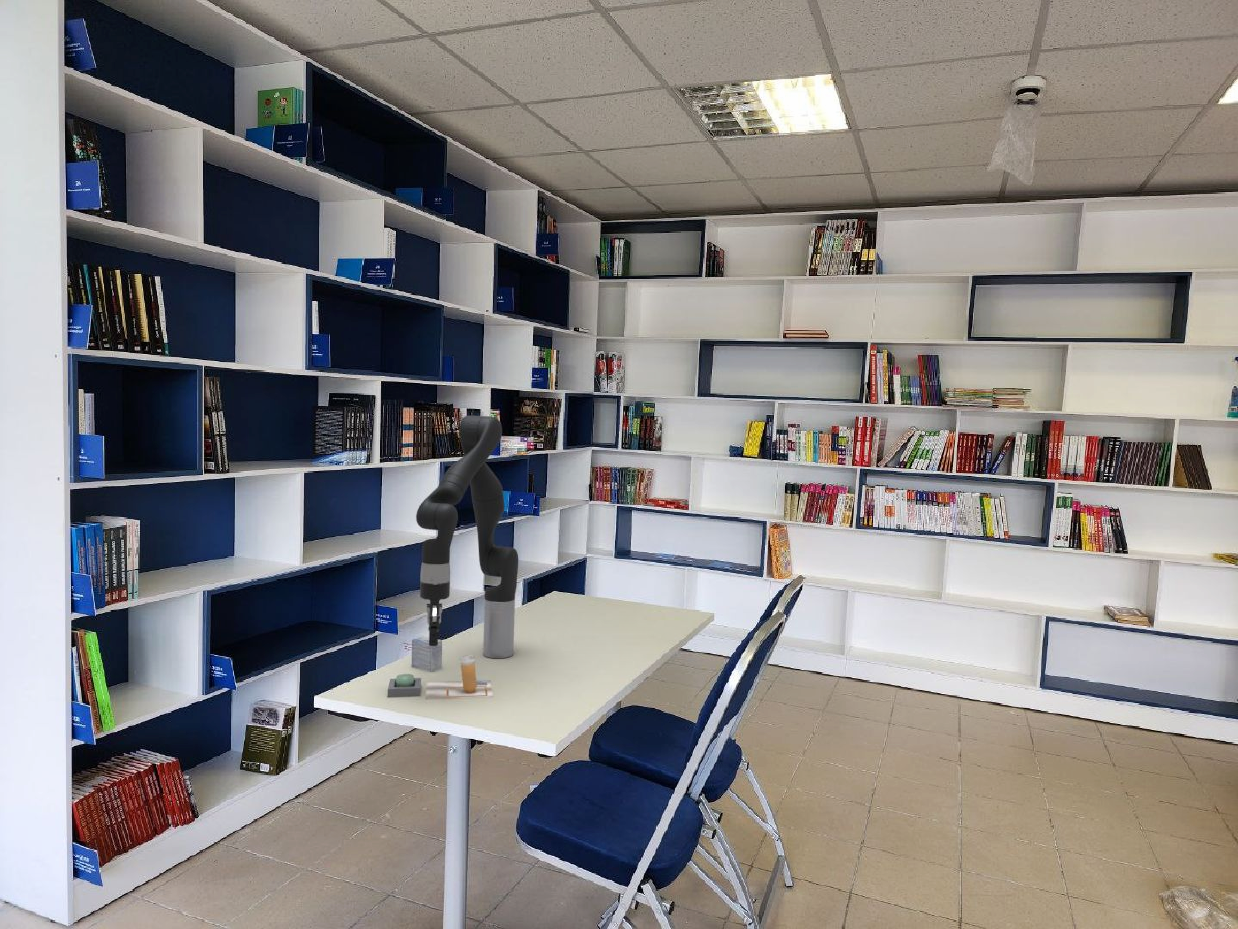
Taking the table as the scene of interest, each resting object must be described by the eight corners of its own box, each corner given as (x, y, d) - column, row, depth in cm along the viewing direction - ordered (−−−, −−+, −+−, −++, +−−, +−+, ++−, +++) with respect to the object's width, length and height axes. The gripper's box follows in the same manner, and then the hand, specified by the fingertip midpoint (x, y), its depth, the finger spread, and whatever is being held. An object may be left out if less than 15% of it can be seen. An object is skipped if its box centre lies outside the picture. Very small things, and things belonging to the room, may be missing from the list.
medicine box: (442, 669, 230) (443, 640, 229) (431, 673, 226) (431, 643, 225) (422, 664, 234) (422, 635, 233) (410, 668, 230) (411, 638, 229)
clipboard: (423, 683, 218) (423, 681, 218) (493, 680, 222) (494, 679, 222) (421, 701, 204) (421, 700, 204) (496, 699, 208) (496, 697, 208)
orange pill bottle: (462, 689, 213) (459, 657, 212) (476, 687, 214) (473, 654, 213) (463, 694, 209) (460, 662, 208) (478, 692, 210) (475, 659, 209)
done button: (396, 683, 212) (396, 674, 212) (413, 683, 213) (414, 673, 213) (395, 689, 208) (395, 680, 207) (413, 688, 208) (413, 679, 208)
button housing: (390, 688, 213) (390, 678, 213) (421, 687, 215) (421, 677, 215) (387, 698, 205) (387, 689, 205) (419, 697, 207) (420, 688, 207)
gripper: (420, 574, 214) (418, 638, 215) (420, 584, 201) (418, 653, 202) (449, 574, 216) (447, 638, 217) (450, 584, 203) (448, 652, 204)
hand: (433, 645), depth 209 cm, fingers closed
